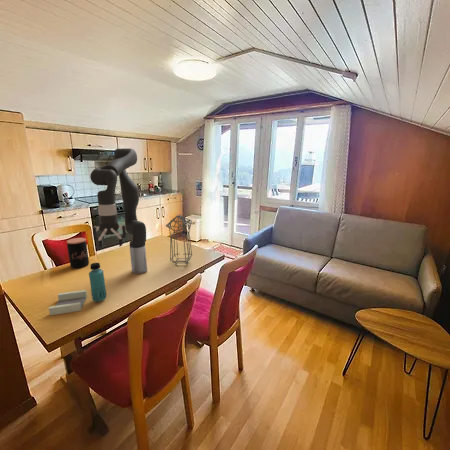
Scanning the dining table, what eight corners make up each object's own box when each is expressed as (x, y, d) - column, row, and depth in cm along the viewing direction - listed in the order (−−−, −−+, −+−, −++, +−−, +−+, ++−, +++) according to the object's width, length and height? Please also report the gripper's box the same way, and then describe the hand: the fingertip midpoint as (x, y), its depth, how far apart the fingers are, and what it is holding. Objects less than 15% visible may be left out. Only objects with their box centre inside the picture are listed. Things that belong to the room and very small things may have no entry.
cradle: (87, 295, 118) (86, 289, 117) (80, 310, 106) (79, 304, 105) (59, 299, 114) (58, 293, 114) (49, 315, 103) (48, 308, 102)
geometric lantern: (190, 268, 152) (188, 218, 143) (167, 268, 153) (163, 217, 144) (194, 259, 168) (192, 212, 158) (173, 259, 168) (170, 212, 159)
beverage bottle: (100, 305, 111) (96, 267, 106) (89, 303, 112) (83, 265, 107) (110, 297, 117) (105, 261, 112) (98, 296, 118) (94, 260, 113)
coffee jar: (72, 270, 146) (67, 243, 141) (69, 265, 154) (65, 239, 149) (90, 266, 153) (87, 240, 148) (87, 261, 160) (84, 236, 156)
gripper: (125, 211, 112) (128, 243, 116) (92, 212, 107) (96, 245, 111) (123, 214, 105) (126, 248, 109) (88, 215, 100) (93, 250, 104)
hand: (111, 246), depth 110 cm, fingers open, 7 cm apart
